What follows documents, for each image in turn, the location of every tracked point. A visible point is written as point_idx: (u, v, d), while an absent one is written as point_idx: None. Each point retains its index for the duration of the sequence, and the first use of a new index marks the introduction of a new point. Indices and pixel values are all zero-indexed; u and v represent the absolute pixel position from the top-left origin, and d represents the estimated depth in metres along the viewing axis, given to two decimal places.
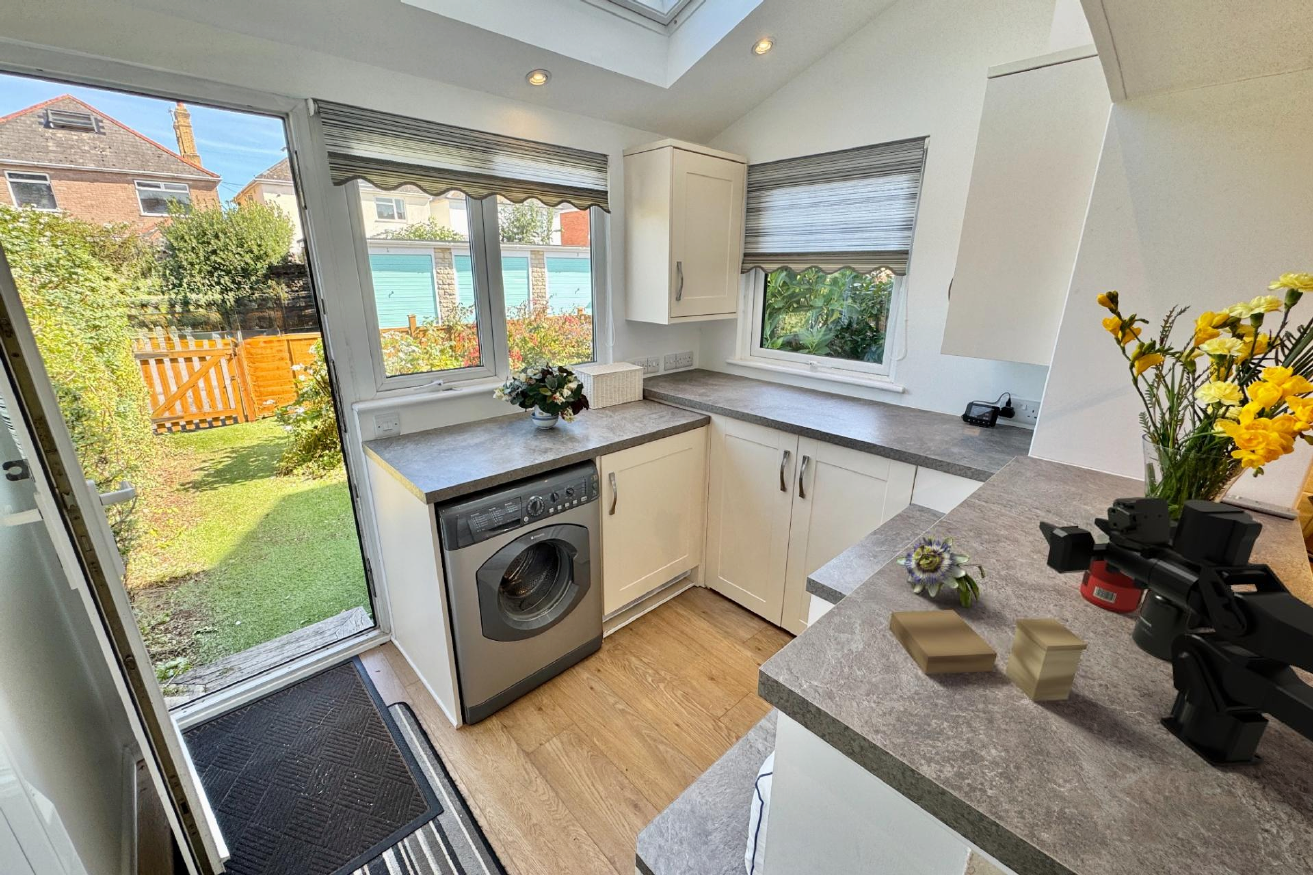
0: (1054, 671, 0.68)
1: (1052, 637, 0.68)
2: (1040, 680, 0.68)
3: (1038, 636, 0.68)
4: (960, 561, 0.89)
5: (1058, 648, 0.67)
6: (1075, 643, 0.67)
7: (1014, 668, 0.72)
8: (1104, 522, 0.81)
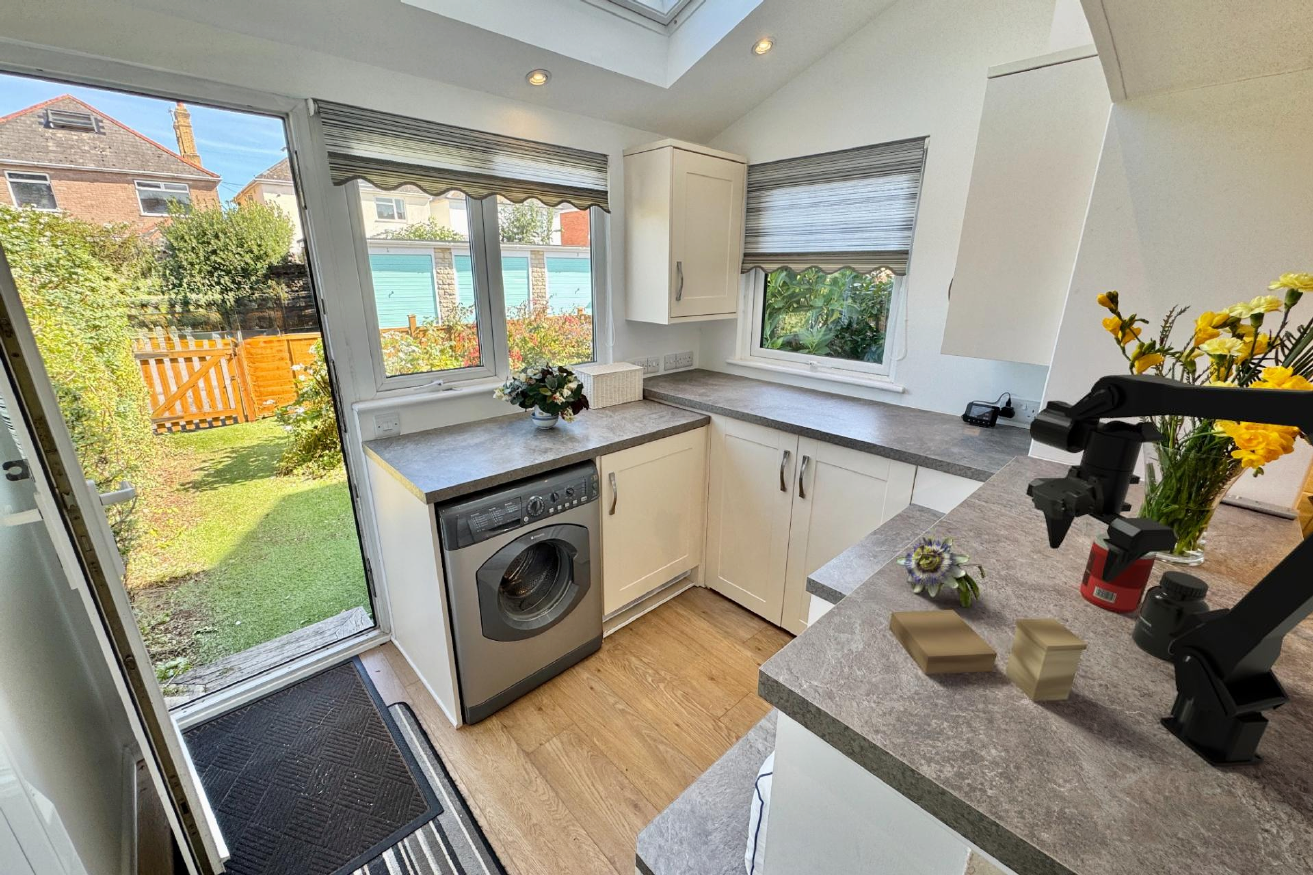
0: (1054, 671, 0.68)
1: (1052, 637, 0.68)
2: (1040, 680, 0.68)
3: (1038, 636, 0.68)
4: (960, 561, 0.89)
5: (1058, 648, 0.66)
6: (1075, 644, 0.67)
7: (1014, 668, 0.72)
8: (1054, 539, 0.81)
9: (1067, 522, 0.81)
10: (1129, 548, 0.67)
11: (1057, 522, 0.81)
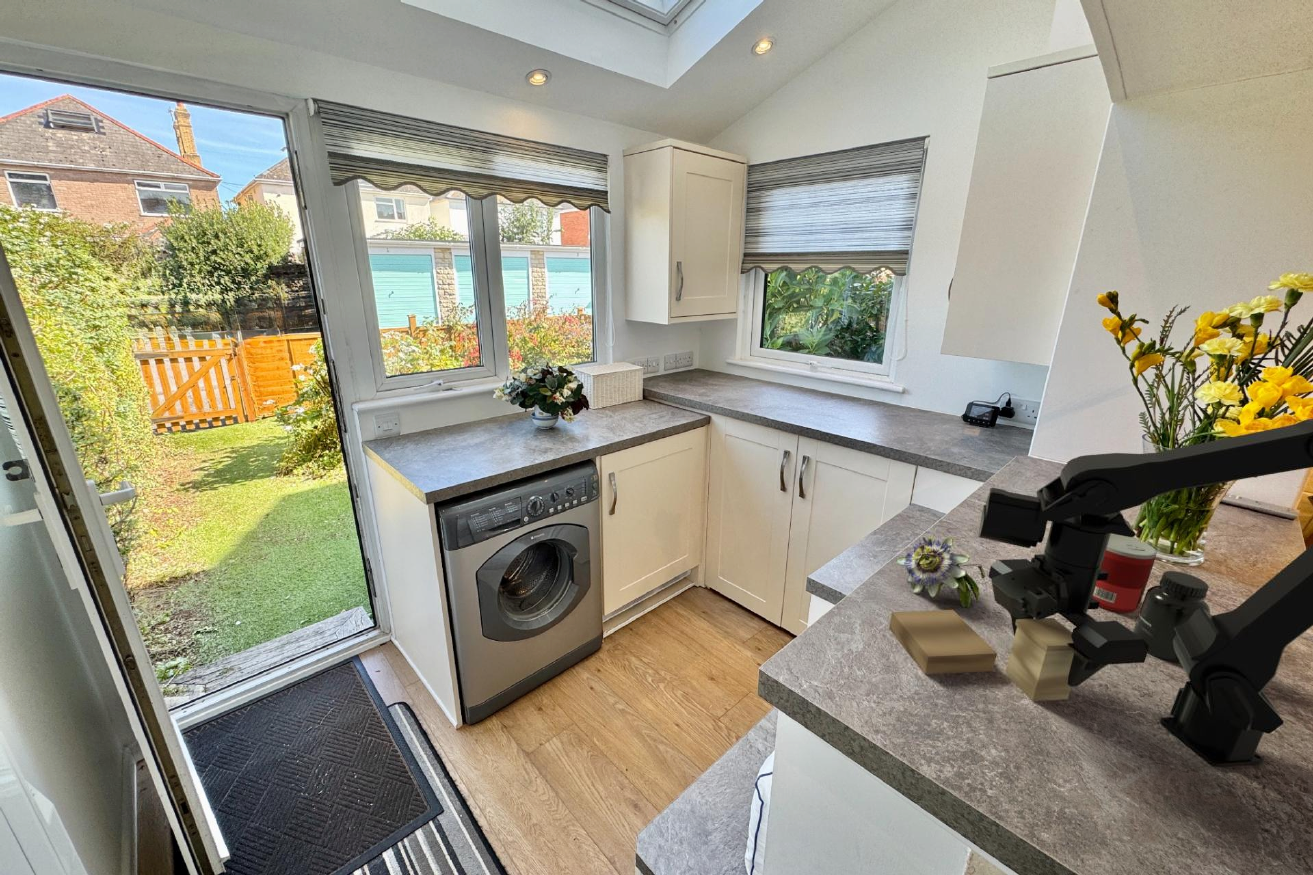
0: (1054, 671, 0.68)
1: (1052, 637, 0.68)
2: (1040, 680, 0.68)
3: (1038, 636, 0.68)
4: (960, 561, 0.89)
5: (1058, 648, 0.66)
6: None
7: (1014, 668, 0.72)
8: None
9: None
10: (1095, 660, 0.59)
11: None
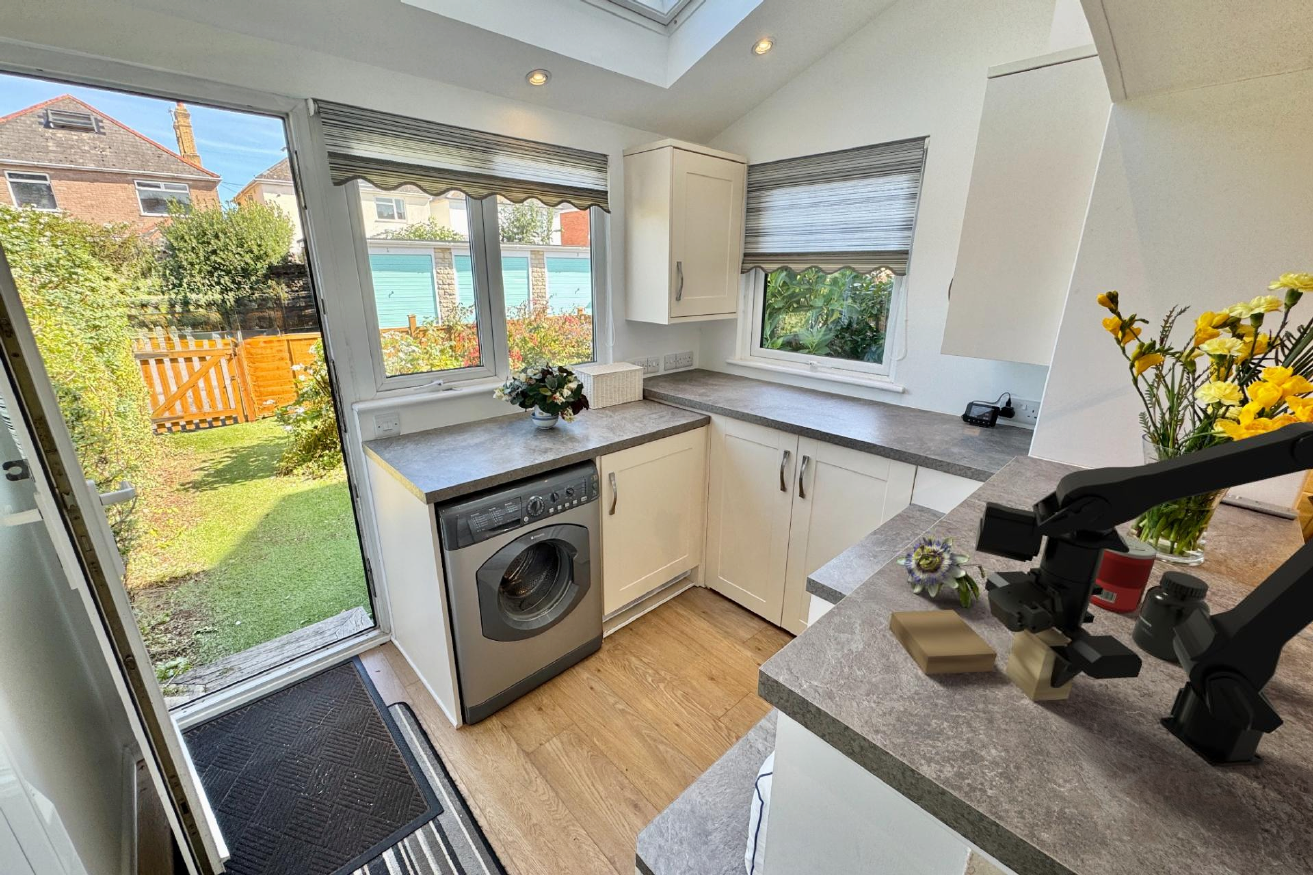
0: None
1: (1052, 637, 0.68)
2: (1040, 679, 0.68)
3: (1038, 636, 0.68)
4: (960, 561, 0.89)
5: None
6: None
7: (1014, 668, 0.72)
8: None
9: None
10: (1089, 675, 0.60)
11: None
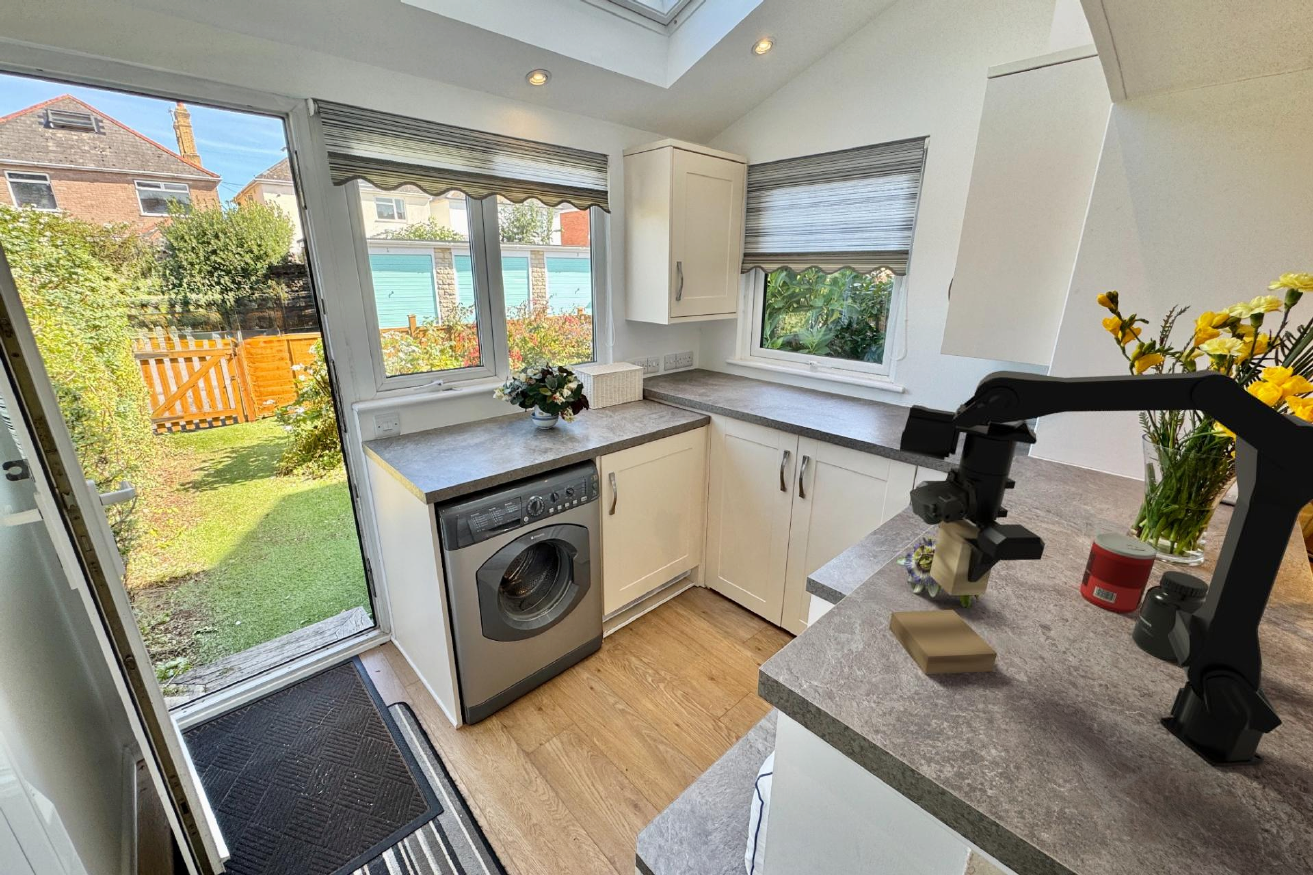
0: None
1: (969, 533, 0.71)
2: (957, 574, 0.71)
3: (956, 532, 0.71)
4: None
5: None
6: None
7: (937, 568, 0.75)
8: None
9: None
10: (994, 557, 0.63)
11: None
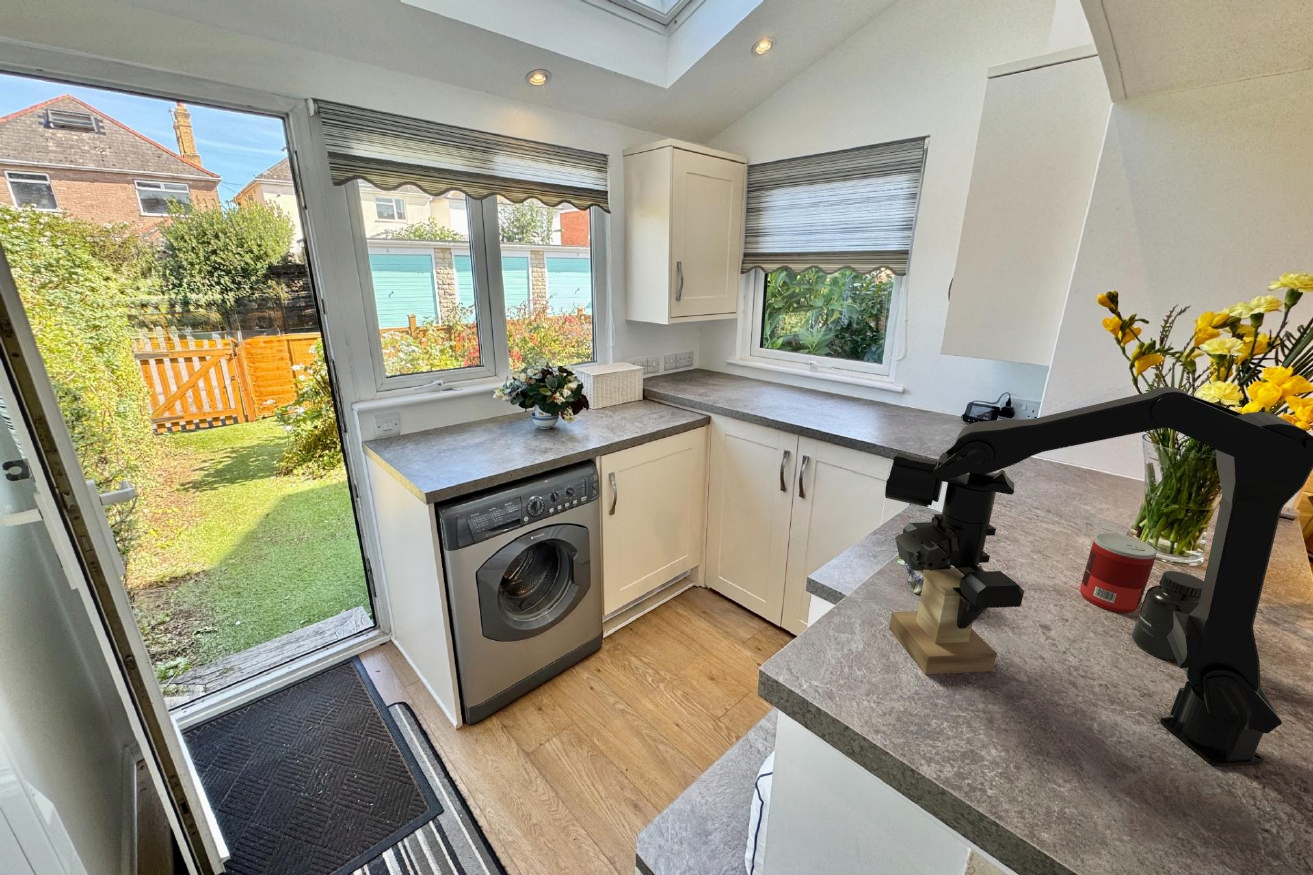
0: (954, 615, 0.74)
1: (952, 584, 0.74)
2: (941, 623, 0.74)
3: (939, 583, 0.74)
4: None
5: (956, 593, 0.72)
6: None
7: (922, 615, 0.78)
8: None
9: None
10: (976, 604, 0.66)
11: None
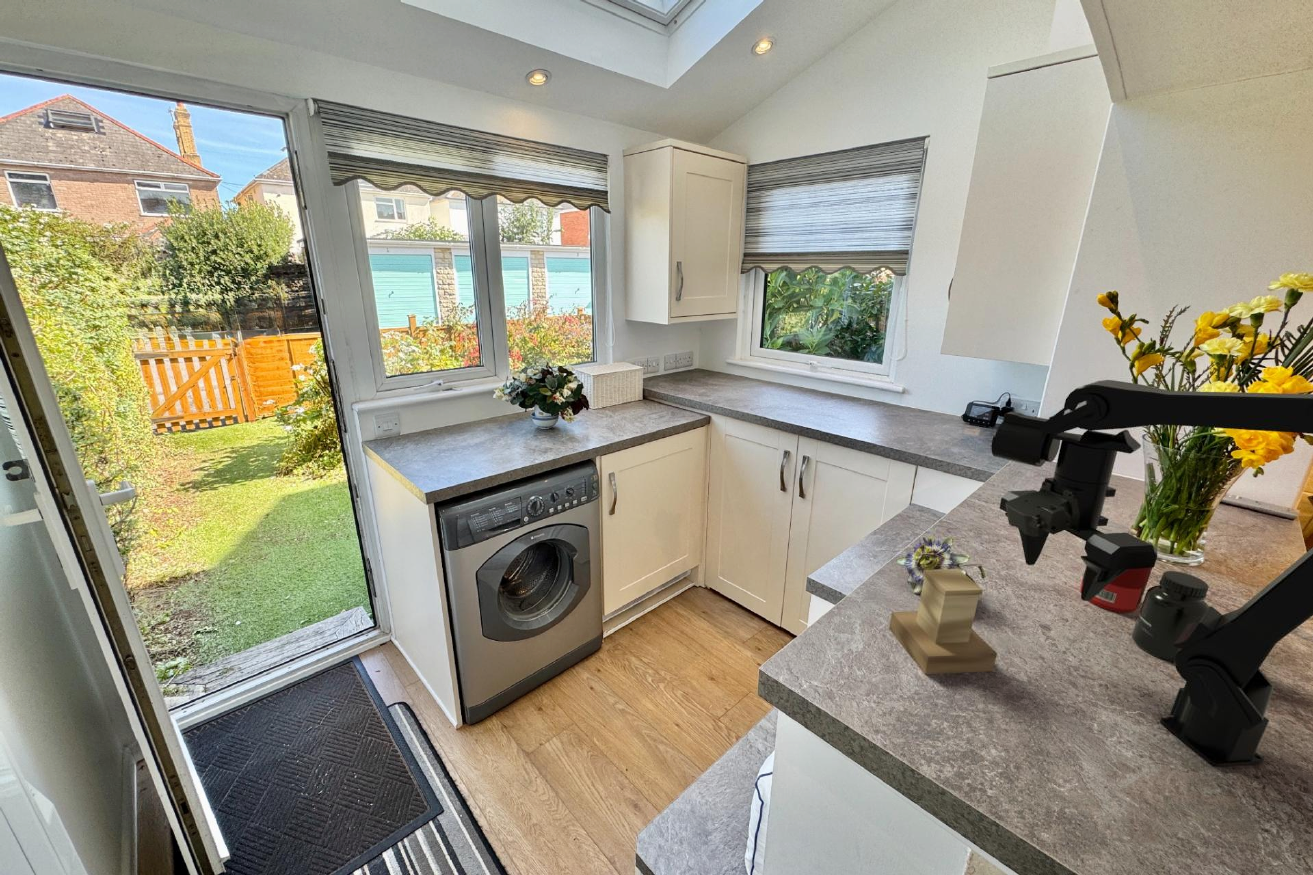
0: (954, 615, 0.74)
1: (952, 584, 0.74)
2: (941, 623, 0.74)
3: (939, 583, 0.74)
4: (960, 561, 0.89)
5: (956, 593, 0.72)
6: (972, 589, 0.73)
7: (922, 615, 0.78)
8: (1030, 555, 0.77)
9: (1042, 537, 0.77)
10: (1108, 566, 0.63)
11: (1032, 537, 0.77)
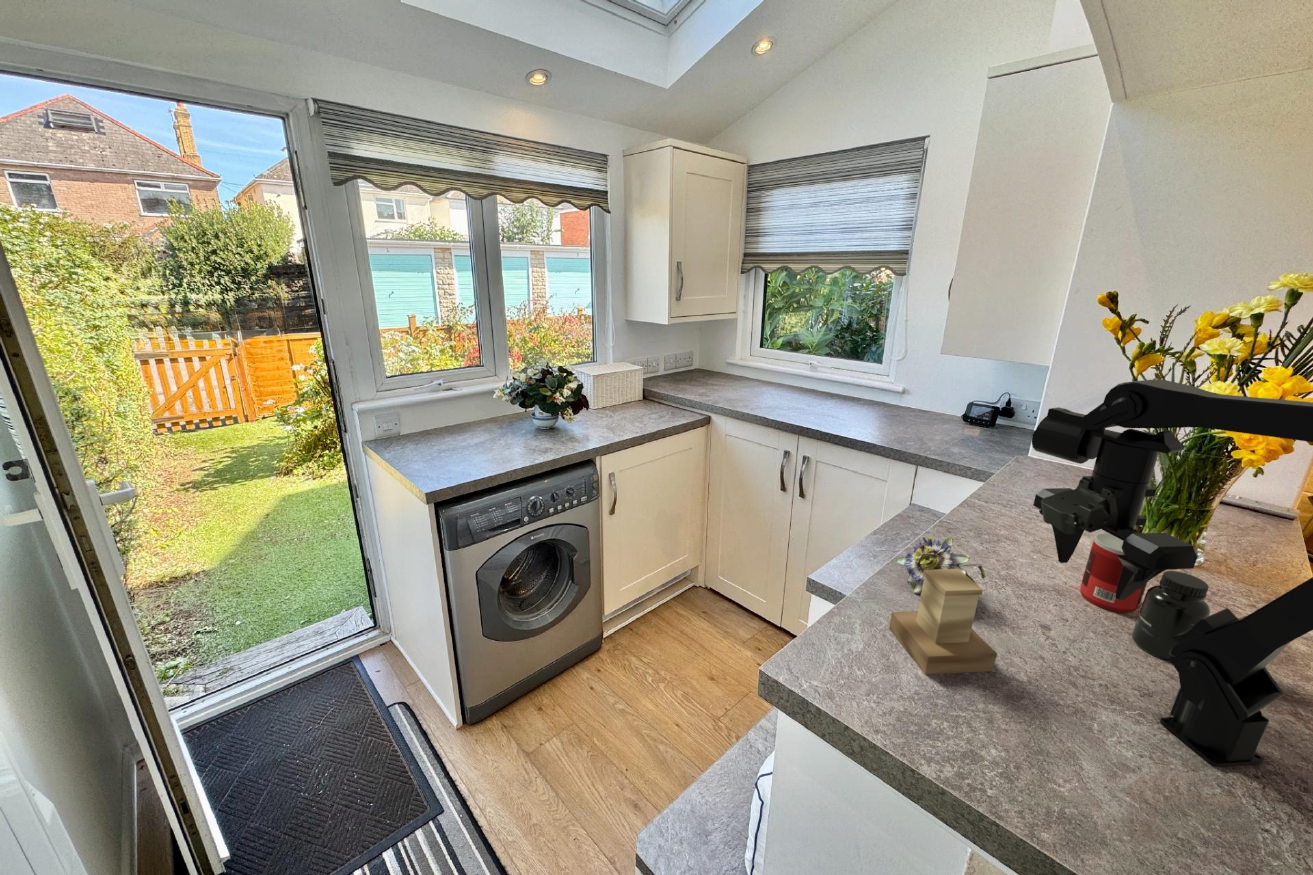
0: (954, 615, 0.74)
1: (952, 584, 0.74)
2: (941, 623, 0.74)
3: (939, 583, 0.74)
4: (960, 561, 0.89)
5: (956, 593, 0.72)
6: (972, 589, 0.73)
7: (922, 615, 0.78)
8: (1063, 553, 0.77)
9: (1077, 535, 0.77)
10: (1146, 566, 0.62)
11: (1066, 535, 0.76)
